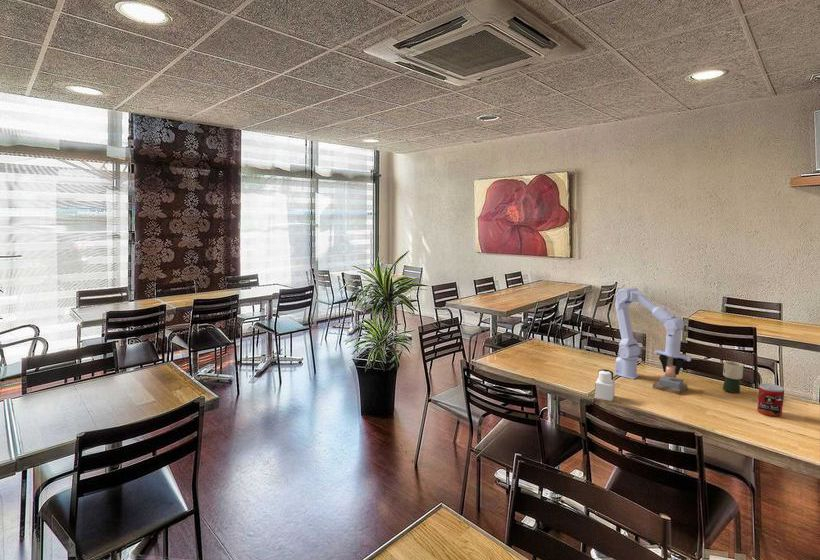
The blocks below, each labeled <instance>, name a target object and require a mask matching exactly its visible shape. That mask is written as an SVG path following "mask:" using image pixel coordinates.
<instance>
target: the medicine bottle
mask: <svg viewBox="0 0 820 560" xmlns="http://www.w3.org/2000/svg"><path fill="white" fill-rule="evenodd" d="M594 384H595V385H594V387H595V388H594V399H598V400H604V401H607V402H608V401H609V402H612V401H613V400H614V397H615V391H616V390H615V389H616V388H615V386H616V381H615V380H614V372H613V371H612V370H610V369H605V368H604V369H603V368H602V369H599V370H598V371H597V379H596V381H595V383H594Z"/></svg>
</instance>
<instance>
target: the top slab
mask: <svg viewBox="0 0 820 560" xmlns="http://www.w3.org/2000/svg"><path fill="white" fill-rule="evenodd" d="M684 380H685V379H683V378H678V377H675V378H671V377H667V376H665V374H664V375H663V376H661V378H659V379H658V381H659V385H661V386H666V387H671V388H675V389H680V387H681V386H682V385H683V384H684Z"/></svg>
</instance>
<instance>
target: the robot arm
mask: <svg viewBox="0 0 820 560" xmlns="http://www.w3.org/2000/svg"><path fill="white" fill-rule="evenodd" d="M632 302H633V303H638V304H641V306H643V307H644V308H646V309H648V310H649V311H650V312H652V313H651V314H652V317H654V318H655V319H656V320H658V321H659V322H660V323H661V324H663V327H664V328H665V330H666V331H665V332H666V335H665V336H666V337H665V349H664V350H660V349H655V350H654V353H653V354H654V355H655V356H659V357H658V359H659V360H660V363H661V366H662V370H663V372H664V373H665V371H666V365H668V361H669V358H671V359H676V360H675V366H676V376H678V375H679V374H680V371H681V369H682V368H681V367H682V366H683V364H684V363H685V362H686V361H687V362H691V361H692V355H691V356H690V355H686V354H683V353H681V343H682V341H681V340H682V330H683V329H684V327H685V321H684V320H683V319H682V317H680V316H676V315H675V314H672V313H671V312H670V311H668V310H667V308H666V307H664V306H658V305H656V304H655V303H654V302H653V301H652V300H650V299H649V298H648V297H647V296H646V295H645V294H644V293H643V292H642V291H641V290H639V289H638V288H637V287H635V286H633V287H627V288H620V289H619V290H618V291H617V292H616V293H615V303H614V308H615V313H616V317H617V322H618V328H619V333H620V338H621V340H620V342H619V343H618V347H619V348H618V355H619V356H617V357H616V358H615V365H614V372H613V375H614V374H615V376H619V377H623V378H627V379H631V380H634V379H636V378H638V377H639V376H641V375H640V374H639V373H637V371H638V358H639V356H640V355H641V353H642V349H641V347H640V346H639V342H638V341H637V340H636V339H635V337H634V334H633V329H632V321H631V317H630V312H629V308H628V307H629V306H630V305H631V304H632Z"/></svg>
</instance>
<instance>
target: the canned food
mask: <svg viewBox="0 0 820 560" xmlns="http://www.w3.org/2000/svg"><path fill="white" fill-rule="evenodd" d="M757 396H758V397H757V405H756V406H757V408H756V409H757V413H759V414H761V415H762V416H766V417H770V418H780V417H781V416H782V415H783V407H784V397H785V388H784V387H782V386H780V385H778V384H773V383H760V384H759V385H758V394H757Z"/></svg>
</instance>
